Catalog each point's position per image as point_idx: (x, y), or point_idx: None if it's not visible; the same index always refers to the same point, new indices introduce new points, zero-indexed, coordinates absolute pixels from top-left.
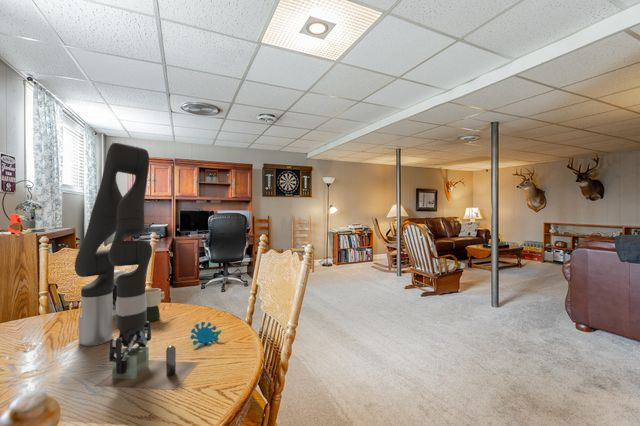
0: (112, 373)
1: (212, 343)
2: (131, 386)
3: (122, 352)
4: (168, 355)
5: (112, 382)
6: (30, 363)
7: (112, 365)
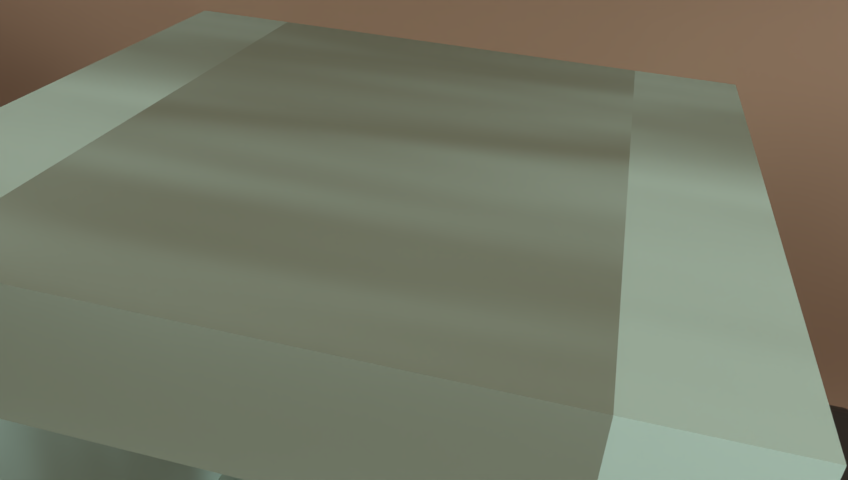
0: (154, 41)
1: None
2: None
3: (146, 451)
4: None
5: None
6: None
7: (13, 112)
